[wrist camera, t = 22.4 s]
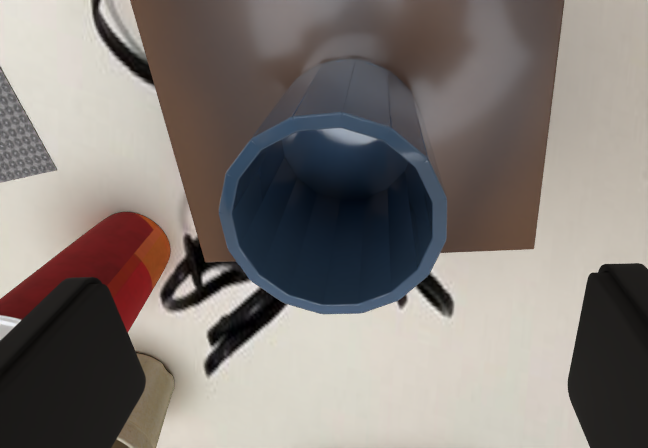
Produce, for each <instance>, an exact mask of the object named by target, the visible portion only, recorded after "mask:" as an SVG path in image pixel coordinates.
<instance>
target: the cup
mask: <svg viewBox="0 0 648 448" xmlns="http://www.w3.org/2000/svg"><path fill="white" fill-rule="evenodd" d="M219 217H220V221H221V225H222V229H223V233H224V237H225V240H226V244H227V248H228V250H229V252H230V253H231V255H232V256H233V257H234V259H235V260H236V261H237V263H238V264H239V265H240V267H241V268H242V270H243V271H244V272H245V274H246V275H247V276H248V278H249V279H250V280H251V281H252V282H253V283H255V284H256V285H258V286H259V287H261V288H262V289H264V290H265V291H267V292H268V293H270V294H271V295H272V296H274V297H275V298H277V299H278V300H280V301H281V302H284V303H285V304H289V305H292V306H295V307H299V308H302V309H306V310H309V311H313V312H316V313H319V314H356V313H364V312H367V311H370V310H373V309H376V308H378V307H381V306H384V305H387V304H390V303H392V302H395V301H398V300H399V299H401V298H402V297H403V296H405V295H406V294H407V293H408V292H409V291H410V290H412V289H413V288H414V287H415V286H416V285H418V284H419V283H420V282H421V281H422V280H424V279H425V278H426V277H427V276H428V274H430V272H431V270H432V268H433V266H434V264H435V262H436V260H437V258H438V256H439V254H440V252H441V250H442V248H443V246H444V244H445V242H446V239H447V197H446V193H445V190H444V186H443V183H442V180H441V176H440V173H439V169H438V166H437V163H436V159H435V156H434V152H433V149H432V146H431V142H430V139H429V136H428V132H427V129H426V125H425V122H424V119H423V116H422V114H421V112H420V110H419V107H418V104H417V102H416V100H415V98H414V96H413V94H412V92H411V91H410V90H409V89H408V87H407V86H406V85H405V84H404V83H403V82H402V81H401V80H400V79H399V78H398V77H397V76H396V75H394V74H393V73H392V72H390V71H389V70H387V69H385V68H383V67H382V66H379V65H377V64H374V63H372V62H368V61H364V60H358V59H338V60H333V61H328V62H325V63H322V64H319V65H317V66H315V67H313V68H311V69H310V70H308V71H307V72H305V73H304V74H302V75H301V76H299V77H298V78H296V79H295V80H294V82H293V83H292V84H291V86H290V87H289V88H288V90H287V91H286V92H285V94H284V95H283V96H282V98H281V99H280V100H279V102H278V103H277V104H276V106H275V107H274V108H273V110H272V111H271V112H270V114H269V115H268V116H267V118H266V119H265V120H264V122H263V123H262V124H261V126H260V127H259V128H258V130H257V131H256V132H255V134H254V135H253V136H252V138H251V139H250V140H249V142H248V143H247V144H246V146H245V147H244V148H243V150H242V151H241V152H240V154H239V155H238V157H237V158H236V159H235V161H234V162H233V163H232V165H231V166H230V167H229V169H228V170H227V171H226V174H225V178H224V183H223V189H222V194H221V199H220V205H219Z"/></svg>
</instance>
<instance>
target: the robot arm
mask: <svg viewBox="0 0 648 448" xmlns="http://www.w3.org/2000/svg"><path fill="white" fill-rule="evenodd" d="M145 385H146V377H145V373H144V371H143V369H142V366H141V364H140V361H139V359H138V357H137V354H136V352H135V349H134V347H133V345H132V342H131V340H130V338H129V335H128V333H127V330H126V328H125V326H124V323H123V321H122V318H121V316H120V314H119V311H118V309H117V307H116V304H115V302H114V299H113V297H112V295H111V292H110V290H109V288H108V287H107V286H106V285H105V284H102V282H101V281H100V280H99V279H98V278H95V277H75V278H66V279H65V280H63V281H62V282H61V283H60V284H59V285H58V286H57V287H55V288H54V289H53V290H52V291H51V292H50V293H49V294H48V295H47V296H46V297H45V298H44V299H43V300H42V301H41V302H40V303H39V304H38V305H37V306H36V307H35V308H34V309H33V310H32V311H31V312H30V313H28V314H27V315H26V316H25V317H24V318H23V319H22V320H21V321H20V322H19V323H18V324H17V325H16V326H15V327H14V328H13V329H12V330H11V331H10V332H9V333H8V334H7V335H6V336H5V337H4V338H3V339H1V340H0V448H112V446H113V444H114V442H115V441H116V439H117V437H118V436H119V434H120V432H121V430H122V429H123V427H124V425H125V423H126V422H127V420H128V418H129V416H130V415H131V413H132V411H133V409H134V408H135V406H136V404H137V403H138V401H139V399H140V397H141V396H142V394H143V392H144V389H145ZM568 393H569V397H570V400H571V403H572V405H573V408H574V410H575V413H576V415H577V417H578V420H579V422H580V424H581V427H582V429H583V432H584V434H585V436H586V439H587V441H588V443H589V446H590V448H648V269H647V268H646V267H645V266H644V265H643V264H639V263H634V264H604V265H602V266H601V267H600V269H599V272H598V273H591V274H590V275H589V277H588V280H587V285H586V290H585V295H584V300H583V306H582V311H581V316H580V321H579V326H578V331H577V336H576V341H575V347H574V352H573V357H572V362H571V367H570V372H569V377H568Z"/></svg>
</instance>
